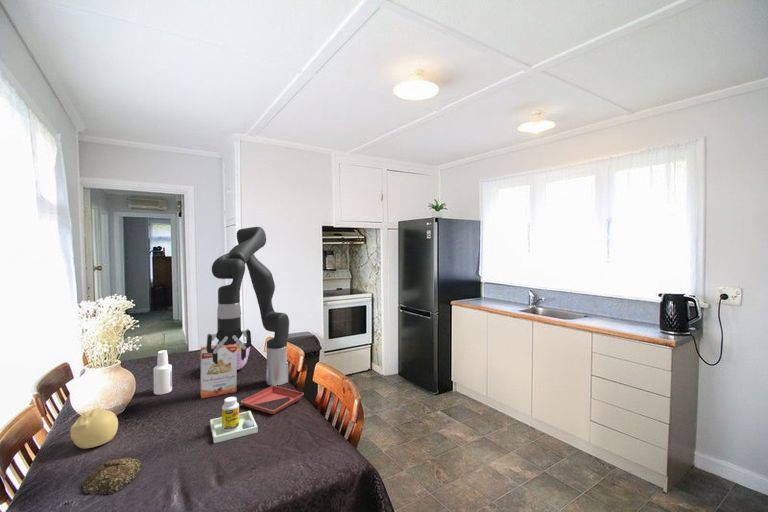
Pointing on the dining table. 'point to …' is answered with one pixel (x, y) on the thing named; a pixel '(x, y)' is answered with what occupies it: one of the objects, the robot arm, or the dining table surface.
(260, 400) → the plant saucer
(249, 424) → the ball
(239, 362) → the bowl of food
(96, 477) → the mottled brown rock
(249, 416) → the tray
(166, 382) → the spray bottle
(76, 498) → the dining table surface
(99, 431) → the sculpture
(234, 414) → the supplement bottle
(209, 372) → the cracker box
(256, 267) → the robot arm
